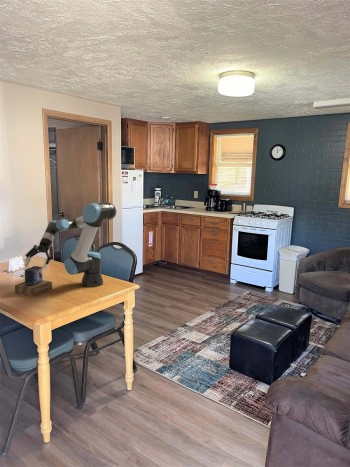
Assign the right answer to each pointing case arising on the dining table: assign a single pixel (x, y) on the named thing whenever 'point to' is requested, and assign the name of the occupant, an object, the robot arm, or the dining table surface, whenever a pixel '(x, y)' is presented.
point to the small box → (33, 276)
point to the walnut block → (33, 288)
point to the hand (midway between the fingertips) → (34, 267)
